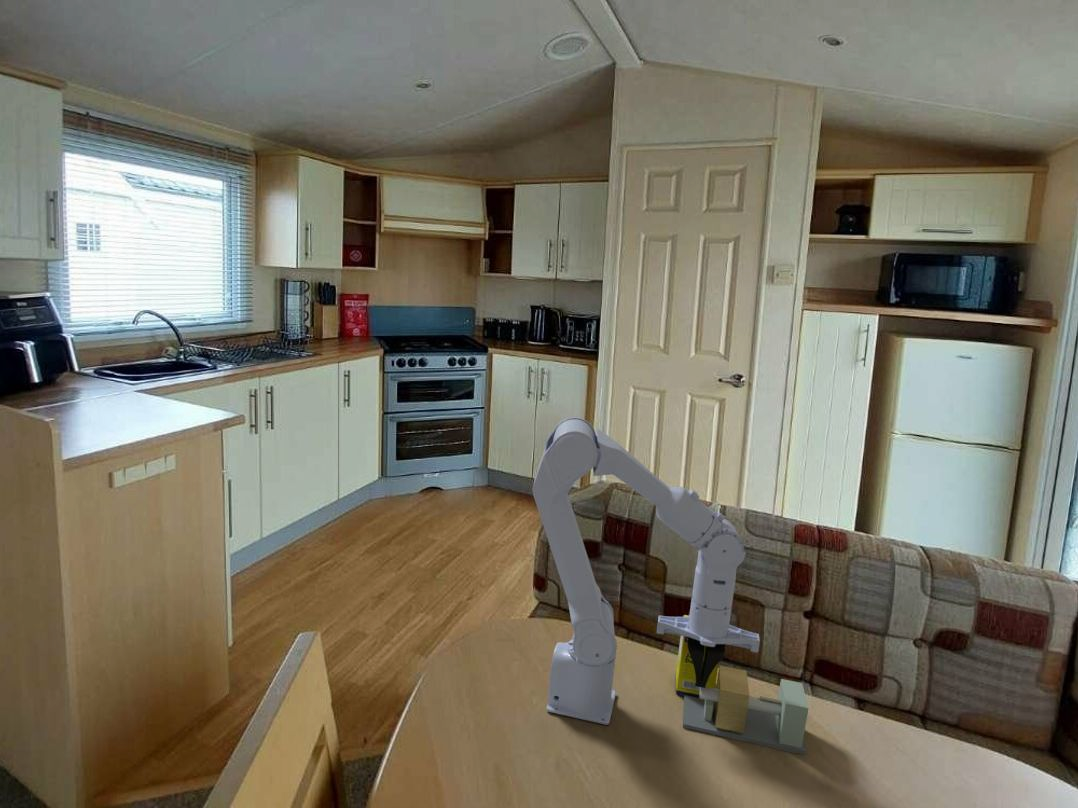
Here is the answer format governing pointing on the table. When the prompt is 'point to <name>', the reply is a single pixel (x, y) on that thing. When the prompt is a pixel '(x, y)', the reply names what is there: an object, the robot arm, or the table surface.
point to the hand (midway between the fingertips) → (700, 683)
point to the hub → (731, 699)
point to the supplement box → (689, 672)
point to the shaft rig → (756, 717)
